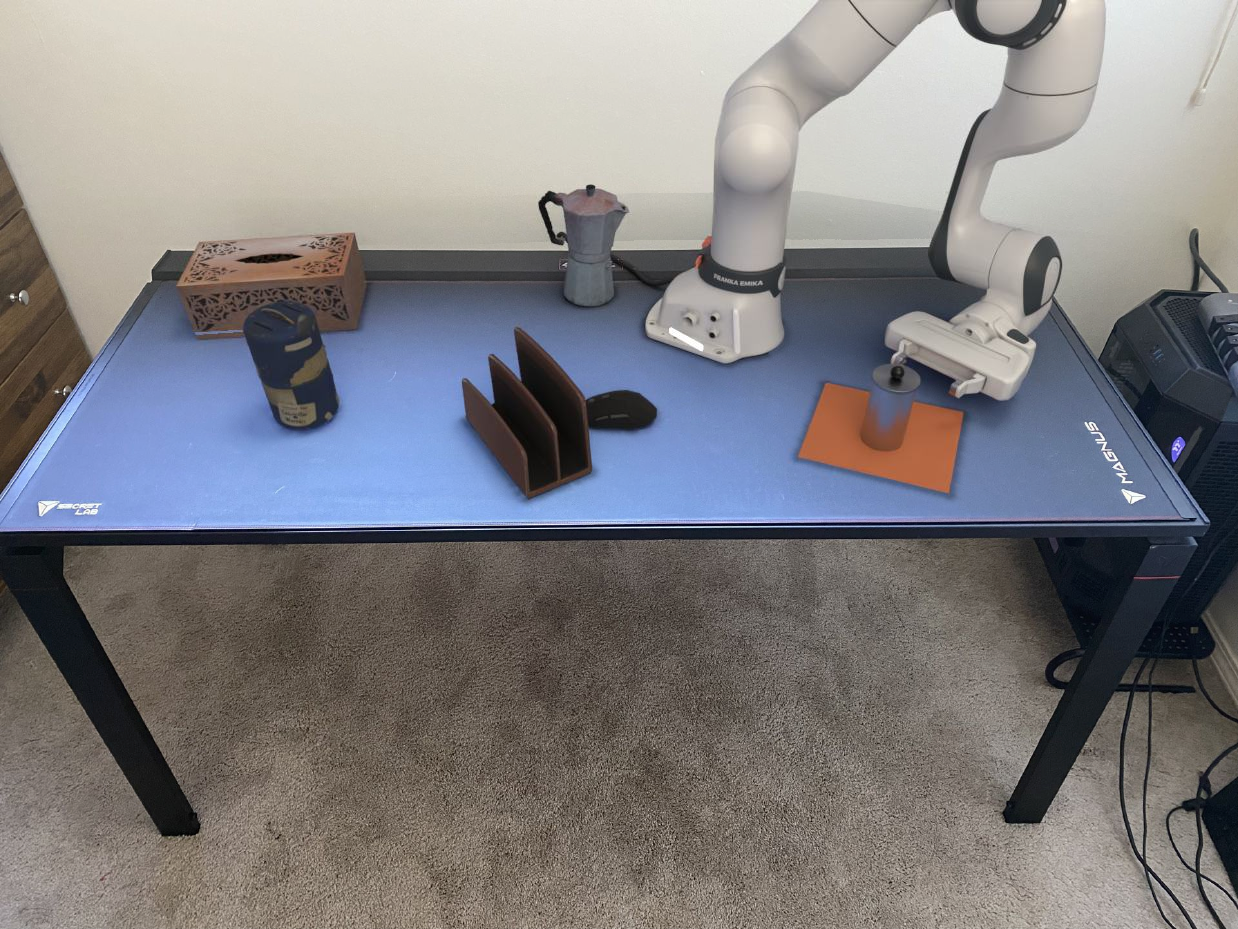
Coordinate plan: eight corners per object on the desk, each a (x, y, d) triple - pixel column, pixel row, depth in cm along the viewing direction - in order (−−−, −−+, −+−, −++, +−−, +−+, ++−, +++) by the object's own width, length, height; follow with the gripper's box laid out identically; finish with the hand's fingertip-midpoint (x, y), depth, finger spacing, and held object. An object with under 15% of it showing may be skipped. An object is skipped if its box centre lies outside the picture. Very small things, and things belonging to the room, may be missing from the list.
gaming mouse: (557, 403, 132) (555, 381, 129) (657, 404, 131) (657, 382, 129) (553, 430, 127) (551, 408, 125) (656, 431, 127) (657, 409, 124)
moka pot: (625, 313, 150) (623, 201, 136) (536, 304, 152) (526, 194, 139) (635, 284, 157) (635, 175, 143) (550, 276, 159) (542, 168, 146)
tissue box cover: (366, 284, 158) (354, 232, 151) (357, 329, 147) (343, 275, 141) (218, 293, 156) (199, 241, 150) (197, 339, 146) (176, 286, 139)
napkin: (797, 458, 122) (797, 456, 122) (825, 384, 134) (825, 382, 134) (948, 495, 116) (949, 492, 116) (963, 414, 129) (963, 411, 128)
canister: (320, 386, 136) (289, 283, 124) (354, 414, 131) (325, 308, 119) (263, 415, 131) (225, 309, 119) (295, 444, 126) (259, 337, 114)
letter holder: (526, 397, 133) (518, 316, 124) (593, 473, 120) (589, 390, 111) (465, 420, 129) (451, 338, 120) (527, 501, 117) (518, 417, 107)
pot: (855, 446, 123) (870, 375, 115) (863, 419, 127) (879, 349, 119) (900, 457, 121) (919, 385, 113) (907, 429, 126) (926, 358, 118)
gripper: (919, 292, 135) (865, 328, 128) (1047, 348, 124) (996, 390, 117) (911, 327, 139) (858, 364, 132) (1034, 384, 128) (983, 427, 121)
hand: (924, 377), depth 124 cm, fingers open, 8 cm apart
